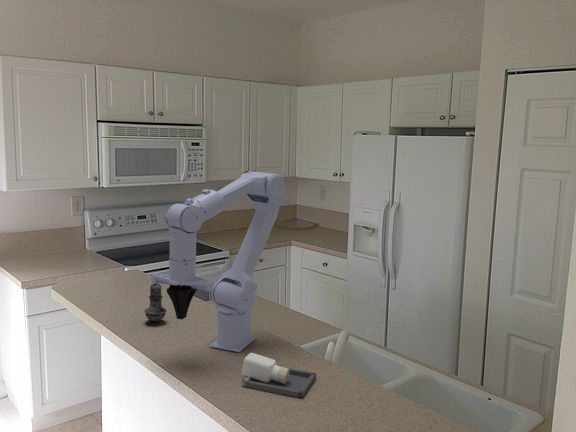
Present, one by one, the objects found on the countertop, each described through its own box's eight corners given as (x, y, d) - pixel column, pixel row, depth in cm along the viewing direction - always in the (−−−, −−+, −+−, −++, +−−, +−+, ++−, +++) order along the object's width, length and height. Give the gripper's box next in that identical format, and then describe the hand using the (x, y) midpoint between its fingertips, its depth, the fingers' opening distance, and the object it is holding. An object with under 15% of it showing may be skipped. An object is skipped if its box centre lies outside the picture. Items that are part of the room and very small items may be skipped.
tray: (259, 367, 120) (259, 362, 120) (315, 378, 116) (316, 373, 115) (241, 386, 110) (241, 380, 110) (301, 398, 106) (302, 393, 106)
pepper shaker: (247, 367, 117) (288, 381, 114) (240, 375, 113) (282, 389, 110) (250, 350, 116) (291, 364, 113) (243, 357, 112) (285, 371, 109)
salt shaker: (143, 320, 147) (143, 277, 145) (165, 318, 148) (166, 277, 147) (144, 327, 141) (145, 283, 139) (167, 326, 143) (168, 282, 141)
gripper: (144, 258, 116) (143, 318, 118) (203, 266, 111) (201, 328, 113) (161, 252, 123) (160, 309, 125) (218, 259, 118) (216, 318, 120)
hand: (181, 317), depth 119 cm, fingers closed
